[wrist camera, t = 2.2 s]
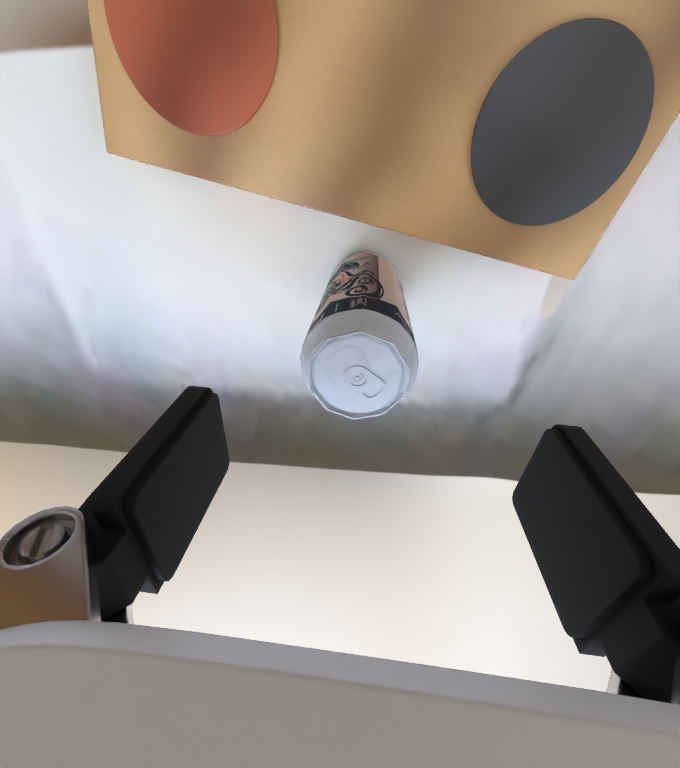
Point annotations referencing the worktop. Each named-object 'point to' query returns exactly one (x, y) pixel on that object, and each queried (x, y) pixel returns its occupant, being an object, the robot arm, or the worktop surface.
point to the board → (403, 109)
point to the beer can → (360, 340)
